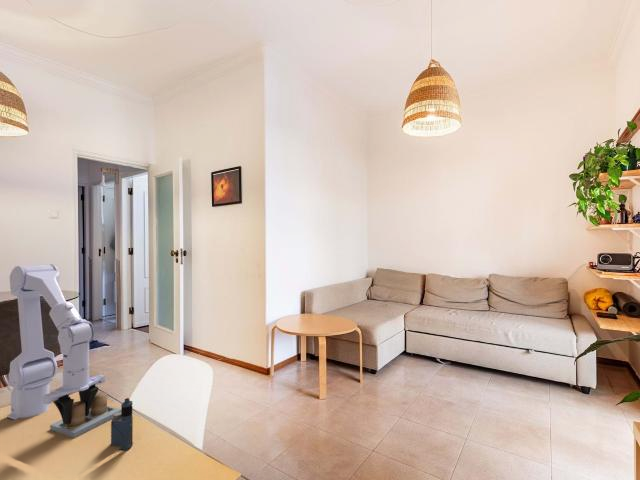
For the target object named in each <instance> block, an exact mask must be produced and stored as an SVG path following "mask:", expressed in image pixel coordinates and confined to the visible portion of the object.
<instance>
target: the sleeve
mask: <svg viewBox="0 0 640 480" xmlns="http://www.w3.org/2000/svg"><path fill="white" fill-rule="evenodd" d="M84 423H86V420H85V401H80V400H77V401H74V402H73V405H72V411H71V424H68V425H66V428H68V429H71V430H72V429H74V428H76V427H78V426H80V425H82V424H84Z"/></svg>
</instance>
